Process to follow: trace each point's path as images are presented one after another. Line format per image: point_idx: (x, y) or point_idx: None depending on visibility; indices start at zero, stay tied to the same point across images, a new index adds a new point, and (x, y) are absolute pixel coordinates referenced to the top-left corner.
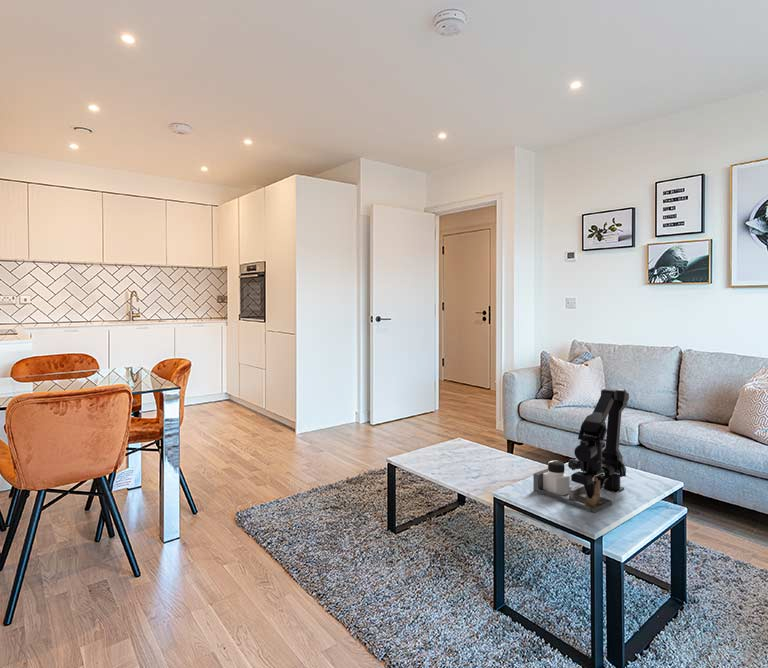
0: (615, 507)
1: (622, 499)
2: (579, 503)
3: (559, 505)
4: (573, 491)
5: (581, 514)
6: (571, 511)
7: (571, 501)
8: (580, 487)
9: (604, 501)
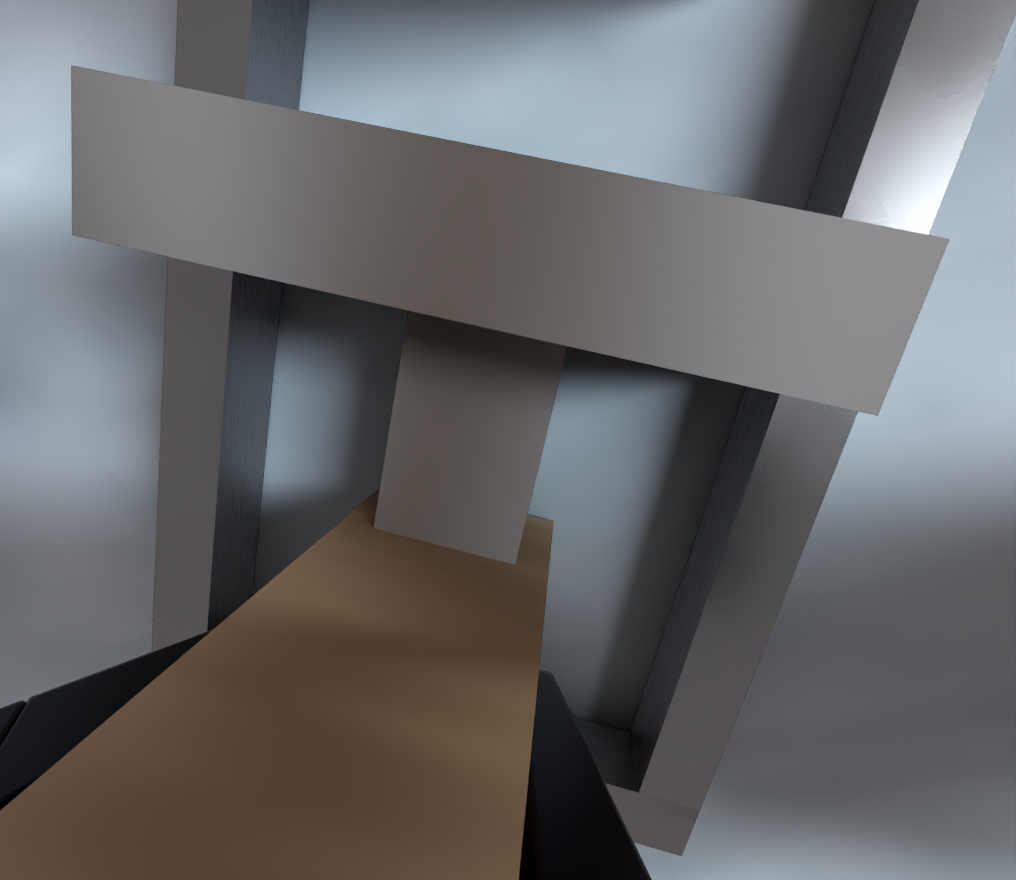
0: None
1: (1003, 877)
2: (164, 450)
3: (56, 121)
4: (138, 248)
5: (37, 532)
6: (13, 386)
7: (178, 280)
8: (527, 329)
9: (646, 719)
